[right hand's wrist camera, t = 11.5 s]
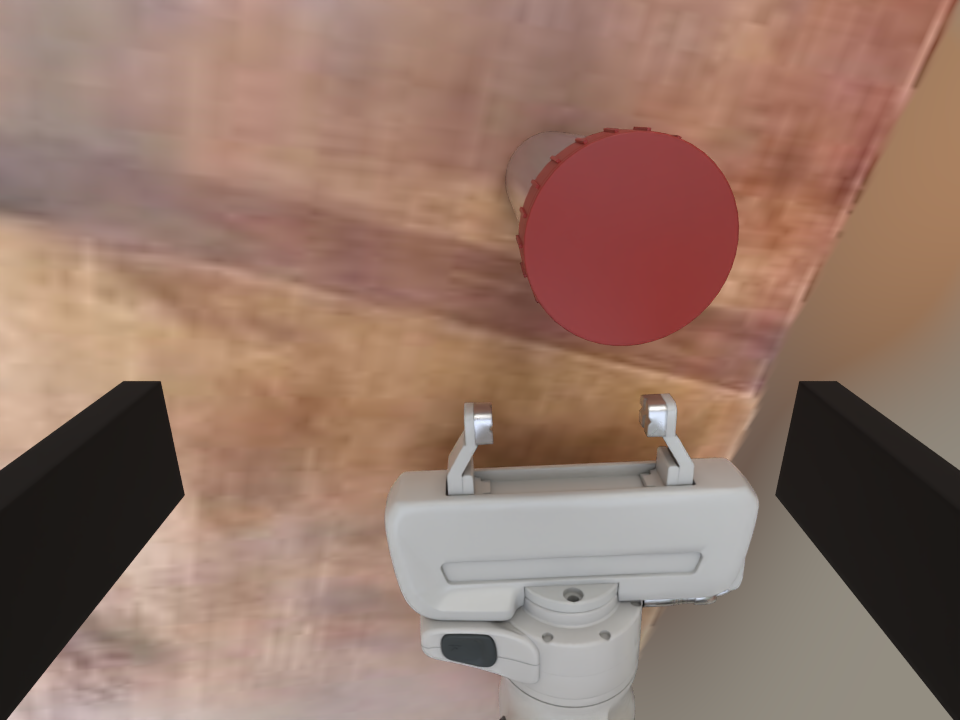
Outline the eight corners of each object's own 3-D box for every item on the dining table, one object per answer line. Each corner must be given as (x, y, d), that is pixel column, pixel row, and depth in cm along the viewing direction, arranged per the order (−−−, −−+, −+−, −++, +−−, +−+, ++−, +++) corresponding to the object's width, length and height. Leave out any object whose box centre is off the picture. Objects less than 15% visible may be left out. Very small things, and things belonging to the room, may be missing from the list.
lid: (532, 340, 19) (538, 364, 17) (501, 148, 17) (504, 151, 15) (717, 308, 19) (743, 329, 17) (709, 107, 17) (739, 106, 15)
